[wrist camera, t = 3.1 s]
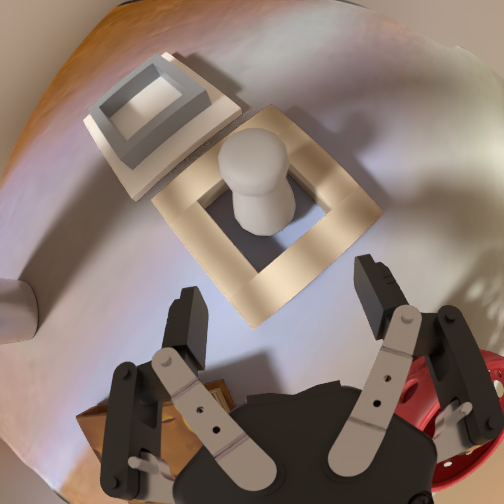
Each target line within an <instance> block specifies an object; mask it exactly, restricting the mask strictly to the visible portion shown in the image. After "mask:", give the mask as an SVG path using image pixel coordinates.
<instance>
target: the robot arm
mask: <svg viewBox="0 0 504 504" xmlns="http://www.w3.org/2000/svg"><path fill="white" fill-rule="evenodd" d="M354 286H355V290H356V292H357V295H358V297H359V299H360V302H361V304H362V307H363V309H364V311H365V314H366V316H367V319H368V321H369V324H370V327H371V329H372V332H373V334H374V337H375V339H376V340H380V339H383V341H384V342H383V344H382V347H381V348H380V351H379V353H378V356H377V358H376V361H375V363H374V365H373V368H372V370H371V372H370V375H369V377H368V379H367V382H366V384H365V386H364V388H363V390H360V389H358V388H355V387H351V386H341V384H340V380H338V381H333V382H329V383H324V384H320V385H316V386H314V387H311V388H309V389H307V390H305V391H302V392H300V393H298V394H295V395H287V394H275V393H266V394H258V395H250V396H247V402H245V403H242V404H240V405H238V406H237V407H235V408H234V409H232V410H231V411H230V412H229V413H227V412H226V411H225V410H224V409H223V408H222V407H221V406H220V404H219V403H218V402H217V401H216V400H215V399H214V397H213V396H212V395H211V394H210V393H209V392H208V390H207V389H206V388H205V387H204V386H203V384H202V383H201V382H200V381H199V379H198V378H197V373H198V371H201V370H205V358H206V343H207V330H208V309H207V306H206V303H205V301H204V299H203V297H202V295H201V293H200V291H199V289H198V287H197V286H193V287H187V288H183V289H182V291H181V296H180V299H176V300H174V302H173V303H172V305H171V306H170V308H169V313H168V318H167V322H166V323H167V324H166V327H165V332H164V338H163V343H162V348H161V349H160V350H159V351H157V352H156V353H155V355H154V356H153V358H152V360H151V361H149V362H147V363H144V364H141V365H139V366H136V365H135V364H133V363H132V362H124V363H121V364H120V365H119V366H118V367H117V368H116V369H115V371H114V374H113V379H112V384H111V390H110V396H109V402H108V408H107V415H106V422H105V430H104V438H103V448H102V459H101V473H100V484H101V487H102V489H103V491H104V492H105V493H106V494H107V495H108V496H110V497H114V498H119V499H122V500H125V501H131V502H137V503H155V502H160V503H170V504H434V501H433V498H432V491H431V488H432V479H433V475H434V471H435V468H436V464H437V463H439V462H442V461H444V460H446V459H448V458H451V457H453V456H455V455H464V454H466V453H468V452H470V451H472V450H474V449H476V448H478V447H480V446H482V445H484V444H486V443H488V442H489V441H491V440H493V439H495V438H496V437H498V436H499V435H500V434H501V432H502V430H503V428H504V414H503V411H502V408H501V404H500V401H499V398H498V395H497V392H496V390H495V387H494V384H493V381H492V379H491V376H490V374H489V371H488V369H487V366H486V364H485V361H484V359H483V357H482V354H481V352H480V350H479V348H478V345H477V343H476V341H475V339H474V337H473V335H472V333H471V331H470V329H469V327H468V325H467V323H466V321H465V319H464V317H463V315H462V313H461V312H460V310H459V309H458V308H456V307H454V306H451V305H446V306H443V307H441V308H440V309H439V311H438V313H421V312H420V311H419V310H418V309H417V308H415V307H414V306H411V305H409V303H408V302H407V300H406V298H405V296H404V294H403V292H402V291H401V289H400V287H399V285H398V284H397V283H396V280H395V278H394V277H393V275H392V273H391V271H390V270H389V268H388V267H387V266H385V265H384V264H383V263H382V262H378V263H375V262H374V260H373V258H372V256H371V255H370V254H366V255H361V256H357V257H355V263H354ZM37 325H38V308H37V302H36V298H35V295H34V293H33V291H32V289H31V287H30V286H29V284H28V283H26V282H25V281H22V280H11V279H1V278H0V344H7V343H15V342H20V341H24V340H30V339H31V338H32V337H33V336H34V335H35V332H36V329H37ZM412 355H424V358H425V361H426V363H427V366H428V369H429V372H430V375H431V378H432V381H433V384H434V387H435V391H436V394H437V397H438V401H439V404H440V408H441V411H442V412H440V413H439V415H438V416H437V418H436V421H435V435H434V437H433V439H431V437H430V436H428V435H427V434H426V433H424V432H423V431H421V430H420V429H418V428H417V427H415V426H414V425H412V424H411V423H409V422H408V421H406V420H405V419H403V418H402V417H400V416H399V415H397V414H396V413H394V410H395V408H396V405H397V403H398V400H399V398H400V395H401V392H402V390H403V387H404V384H405V381H406V378H407V375H408V372H409V369H410V366H411V363H412V359H413V356H412ZM170 397H171V400H172V402H173V403H174V405H175V406H176V408H177V409H178V411H179V412H180V413H181V415H182V416H183V418H184V419H185V420H186V422H187V423H188V425H189V426H190V427H191V429H192V430H193V431H194V433H195V434H196V435H197V436H198V438H199V439H200V440H201V442H202V443H203V445H202V447H201V448H200V449H199V450H198V451H197V453H196V454H195V455H194V456H193V457H192V459H191V460H190V461H189V462H188V463H187V465H186V466H185V467H184V468H183V469H182V470H181V472H180V473H179V474H178V475H177V476H176V478H175V479H174V478H173V477H172V475H171V473H170V468H169V465H168V463H167V462H166V461H165V460H164V459H162V458H161V430H162V408H163V400H165V399H168V398H170Z"/></svg>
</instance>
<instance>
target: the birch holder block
mask: <svg viewBox="0 0 504 504" xmlns="http://www.w3.org/2000/svg"><path fill="white" fill-rule="evenodd" d="M246 128H263V129H265V130H268V131H270V132H273V133H275V134H276V135H277V136H278V137H279V138H280V139H281V140H282V141H283V142H284V143H285V146H286V149H287V153H288V157H289V161H290V162H289V167H288V171H287V173H288V174H289V175H290V176H291V177H292V178H293V179H294V180H295V181H296V182H297V183H298V184H299V185H300V186H301V187H302V188H303V189H304V190H305V191H306V192H307V193H308V195H309V196H310V197H311V198H312V199H313V200H314V201H315V202H316V203H317V204H318V205H319V206H320V207H321V208H322V209H323V211H324V212H325V213H326V215H325V216H324V217H323V218H322V219H321V220H320V221H319V222H317V223H316V224H315V225H314V226H313V227H312V228H311V229H309V230H308V231H307V232H306V233H305V234H304V235H303V236H301V237H300V238H299V239H298V240H297V241H296V242H295V243H293V244H292V245H291V246H290V247H289V248H288V249H287V250H285V251H284V252H283V253H282V254H281V255H280V256H278V257H277V258H276V259H275V260H274V261H273V262H271V263H270V264H269V265H268V266H267V267H266V268H264V269H263V270H262V271H261V272H260V273H258V271H257V270H256V269H255V268H254V267H253V265H252V264H251V263H250V262H249V261H248V260H247V258H246V257H245V256H244V255H243V254H242V253H241V251H240V250H239V249H238V248H237V247H236V245H235V244H234V243H233V242H232V241H231V240H230V238H229V237H228V236H227V235H226V234H225V232H224V231H223V230H222V229H221V228H220V226H219V225H218V224H217V223H216V222H215V221H214V219H213V218H212V217H211V216H210V215H209V213H208V212H207V211H206V210H205V209H206V208H207V207H208V206H209V205H210V204H211V203H213V202H214V201H215V200H216V199H217V198H218V197H220V196H221V195H222V194H223V193H224V192H226V191H227V190H228V189H229V188H230V187H229V186H228V185H227V183H226V182H225V181H224V179H223V178H222V176H221V175H220V169H219V162H218V155H219V152H220V150H221V147H222V145H223V143H224V142H225V141H226V140H227V139H228V138H229V137H230V136H231V135H232V134H233V133H236V132H238V131H241V130H244V129H246ZM151 201H152V203H153V204H154V205H155V207H156V208H157V209H158V211H159V212H160V213H161V215H162V216H163V218H164V219H165V220H166V222H167V223H168V224H169V226H170V227H171V228H172V230H173V231H174V232H175V234H176V235H177V236H178V237H179V239H180V240H181V241H182V243H183V244H184V245H185V247H186V248H187V249H188V250H189V252H190V253H191V254H192V256H193V257H194V258H195V259H196V261H197V262H198V263H199V265H200V266H201V267H202V268H203V270H204V271H205V272H206V273H207V275H208V276H209V277H210V278H211V280H212V281H213V282H214V283H215V285H216V286H217V287H218V288H219V290H220V291H221V292H222V293H223V294H224V296H225V297H226V298H227V299H228V301H229V302H230V303H231V304H232V305H233V307H234V308H235V309H236V310H237V311H238V313H239V314H240V315H241V316H242V317H243V319H244V320H245V321H246V322H247V323H248V324H249V326H250V327H251V328H252V329H253V330H254V329H256V328H257V327H258V326H259V325H261V324H262V323H263V322H264V321H265V320H267V319H268V318H269V317H270V316H271V315H273V314H274V313H275V312H276V311H277V310H279V309H280V308H281V307H282V306H283V305H285V304H286V303H287V302H288V301H289V300H290V299H292V298H293V297H294V296H295V295H296V294H297V293H299V292H300V291H301V290H302V289H303V288H304V287H305V286H307V285H308V284H309V283H310V282H311V281H312V280H313V279H315V278H316V277H317V276H318V275H319V274H320V273H321V272H322V271H323V270H325V269H326V268H327V267H328V266H329V265H330V264H331V263H332V262H333V261H335V260H336V259H337V258H338V257H339V256H340V255H341V254H342V253H343V252H344V251H345V250H346V249H347V248H349V247H350V246H351V245H352V244H353V243H354V242H355V241H356V240H357V239H358V238H359V237H360V236H361V235H362V234H363V233H364V232H365V231H366V230H367V229H368V228H369V227H370V226H372V225H373V224H374V223H375V222H376V221H377V220H378V219H379V218H380V217H381V216H382V215H383V214H384V212H383V211H382V210H381V209H380V208H379V206H378V205H377V204H376V203H375V202H374V201H373V200H372V199H371V198H370V196H369V195H368V194H367V193H366V192H365V191H364V190H363V189H362V188H361V187H360V186H359V185H358V183H357V182H356V181H355V180H354V179H353V178H352V177H351V176H350V175H349V174H348V173H347V172H346V171H345V170H344V169H343V168H342V167H341V166H340V165H339V164H338V163H337V162H336V161H335V160H334V159H333V158H332V157H331V156H330V155H329V154H328V153H327V152H326V151H325V150H323V149H322V148H321V147H320V146H319V145H318V144H317V143H316V142H315V141H314V140H313V139H312V138H310V137H309V136H308V135H307V134H306V133H305V132H304V131H303V130H302V129H300V128H299V127H298V126H297V125H296V124H295V123H293V122H292V121H291V120H290V119H289V118H288V117H286V116H285V115H284V114H283V113H282V112H280V111H279V110H278V109H277V108H276V107H274V106H273V105H272V104H270V105H269V106H267V107H266V108H264V109H263V110H261V111H260V112H259V113H257V114H256V115H254V116H253V117H252V118H250V119H249V120H247V121H246V122H245V123H243V124H242V125H240V126H239V127H238V128H236V129H235V130H234V131H232V132H231V133H230V134H228V135H227V136H226V137H224V138H223V139H222V140H221V141H219V142H218V143H217V144H215V145H214V146H213V147H212V148H210V149H209V150H208V151H207V152H205V153H204V154H203V155H202V156H201V157H199V158H198V159H197V160H196V161H194V162H193V163H192V164H191V165H190V166H188V167H187V168H186V169H185V170H184V171H183V172H181V173H180V174H179V175H178V176H177V177H176V178H175V179H173V180H172V181H171V182H170V183H169V184H168V185H167V186H166V187H164V188H163V189H162V190H161V191H160V192H159V193H158V194H157V195H156V196H155V197H153V198H152V199H151Z"/></svg>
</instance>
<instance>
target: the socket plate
mask: <svg viewBox="0 0 504 504" xmlns="http://www.w3.org/2000/svg"><path fill="white" fill-rule="evenodd" d="M88 112H89V113H90V114H89V115H88V116H87V117H86V118H85V119H84V120H83V121H84V123H85V125H86V127H87V128H88V130H89V132H90V134H91V135H92V137H93V139H94V140H95V142H96V144H97V145H98V147H99V149H100V150H101V152H102V153H103V155H104V157H105V158H106V160H107V161H108V163H109V165H110V166H111V168H112V169H113V171H114V173H115V174H116V176H117V177H118V179H119V180H120V182H121V183H122V185H123V186H124V188H125V189H126V191H127V192H128V194H129V195H130V197H131V198H132V199H133V200H134V201H136V202H137V201H138V200H139V199H140V198H141V197H142V196H144V195H145V194H146V193H147V192H148V191H149V190H150V189H151V188H152V187H153V186H154V185H155V184H156V183H158V182H159V181H160V180H161V179H162V178H163V177H164V176H165V175H166V174H168V173H169V172H170V171H171V170H172V169H173V168H174V167H176V166H177V165H178V164H179V163H180V162H181V161H183V160H184V159H185V158H186V157H187V156H189V155H190V154H191V153H192V152H193V151H195V150H196V149H197V148H198V147H200V146H201V145H202V144H203V143H205V142H206V141H207V140H208V139H210V138H211V137H212V136H214V135H215V134H216V133H217V132H219V131H220V130H221V129H223V128H224V127H225V126H227V125H228V124H229V123H231V122H232V121H234V120H235V119H236V118H238V117H239V116H240V115H242V110H241V108H240V107H239V106H238V105H237V104H235V103H234V102H233V101H232V100H230V99H229V98H228V97H227V96H225V95H224V94H223V93H222V92H220V91H219V90H218V89H217V88H215V87H214V86H213V85H211V84H210V83H209V82H207V81H206V80H205V79H203V78H202V77H201V76H199V75H198V74H197V73H195V72H194V71H193V70H191V69H190V68H189V67H187V66H186V65H184V64H183V63H181V62H180V61H179V60H177V59H176V58H174V57H173V56H171V55H170V54H168V53H167V52H166V53H164V54H163V55H159V54H158V53H156V54H155V55H154V56H152V57H151V58H149V59H148V60H147V61H145V62H144V63H142V64H141V65H140V66H138V67H137V68H136V69H134V70H133V71H132V72H131V73H129V74H128V75H127V76H125V77H124V78H123V79H122V80H121V81H119V82H118V83H117V84H116V85H115V86H113V87H112V88H111V89H110V90H109V91H108V92H106V93H105V94H104V95H103V96H102V97H101V98H100V99H99V100H97V101H96V102H95V103H94V104H93V105H92V106H91V107H90V108H89V109H88Z"/></svg>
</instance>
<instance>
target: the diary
mask: <svg viewBox="0 0 504 504" xmlns="http://www.w3.org/2000/svg"><path fill="white" fill-rule="evenodd" d="M203 386H204V387H205V388H206V389H207V390H208V392H209V393H210V394H211V395H212V396H213V397H214V399H215V400H216V401H217V402H218V403H219V404H220V406H221V407H222V408H223V409H224V410H225V411H226V412H227V413H229V412H230V411H231V410H232V409H234V408H235V405H234V403H233V401H232V399H231V396H230V394H229V392H228V390H227V387H226V385H225V383H224V380H223V379H222V380H218V381H215V382H211V383H207V384H203ZM107 408H108V404H103V405H97V406H94V407H92V408H90V409H88V410H86V411H84V412H82V413H81V414H79V415H77V416H76V419H77V421H78V423H79V425H80V427H81V429H82V431H83V433H84V435H85V437H86V439H87V440H88V442H89V444H90V446H91V447H92V449H93V451H94V453H95V454H96V456H97V458H98V459H99V461H100V463H101V459H102V448H103V438H104V430H105V422H106V415H107ZM202 445H203V443H202V442H201V440H200V439H199V438H198V436H197V435H196V434H195V433H194V431H193V430H192V429H191V427H190V426H189V425H188V423H187V422H186V420H185V419H184V418H183V416H182V415H181V413H180V412H179V411H178V409H177V408H176V406H175V405H174V403H173V402H172V400H171V397H170V398H168V399H165V400H163V408H162V430H161V458H162V459H164V460H165V461H166V462H167V463H168V465H169V468H170V473H171V475H172V477H173V478H174V479H175V478H176V476H177V475H178V474H179V473H180V472H181V470H182V469H183V468H184V467H185V466H186V465H187V463H188V462H189V461H190V460H191V459H192V457H193V456H194V455H195V454H196V453H197V451H198V450H199V449H200V448H201V447H202ZM128 503H129V504H170V503H160V502H155V503H137V502H131V501H128Z"/></svg>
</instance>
